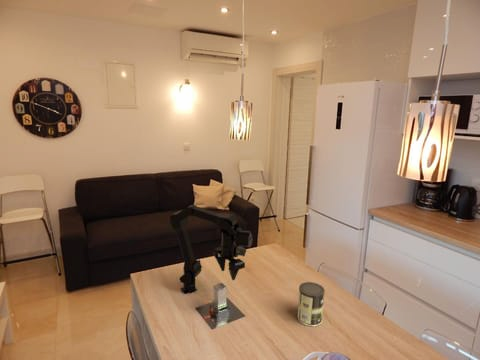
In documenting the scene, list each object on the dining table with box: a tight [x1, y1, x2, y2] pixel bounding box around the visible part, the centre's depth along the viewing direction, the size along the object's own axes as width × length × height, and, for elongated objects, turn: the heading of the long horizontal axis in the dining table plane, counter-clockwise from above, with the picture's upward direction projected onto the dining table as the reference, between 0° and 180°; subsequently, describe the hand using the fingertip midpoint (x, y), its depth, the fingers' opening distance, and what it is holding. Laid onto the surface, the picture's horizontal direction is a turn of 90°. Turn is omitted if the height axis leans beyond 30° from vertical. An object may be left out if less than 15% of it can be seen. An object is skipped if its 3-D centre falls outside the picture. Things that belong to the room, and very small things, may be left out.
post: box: [212, 282, 228, 309], centre depth 131 cm, size 4×4×9 cm
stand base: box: [194, 296, 246, 330], centre depth 133 cm, size 16×16×4 cm
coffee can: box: [297, 281, 326, 328], centre depth 130 cm, size 10×10×14 cm
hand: (228, 275), depth 140 cm, fingers open, 9 cm apart
